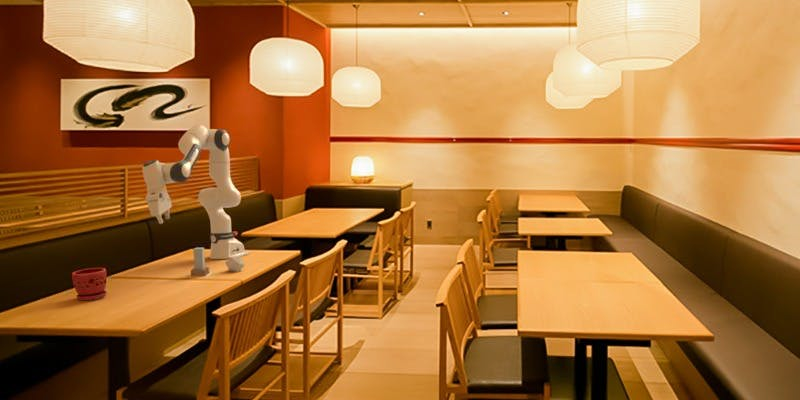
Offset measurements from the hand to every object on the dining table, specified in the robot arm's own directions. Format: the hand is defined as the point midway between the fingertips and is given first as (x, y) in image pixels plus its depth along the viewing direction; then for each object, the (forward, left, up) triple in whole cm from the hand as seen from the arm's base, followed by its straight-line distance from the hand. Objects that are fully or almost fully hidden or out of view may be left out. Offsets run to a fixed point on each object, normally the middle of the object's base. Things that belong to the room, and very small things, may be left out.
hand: (164, 221), depth 326 cm
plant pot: (+49, +14, -27) cm, 57 cm away
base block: (-5, +18, -26) cm, 32 cm away
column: (-5, +18, -23) cm, 30 cm away
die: (-21, +25, -27) cm, 42 cm away
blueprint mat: (-6, +18, -26) cm, 32 cm away
